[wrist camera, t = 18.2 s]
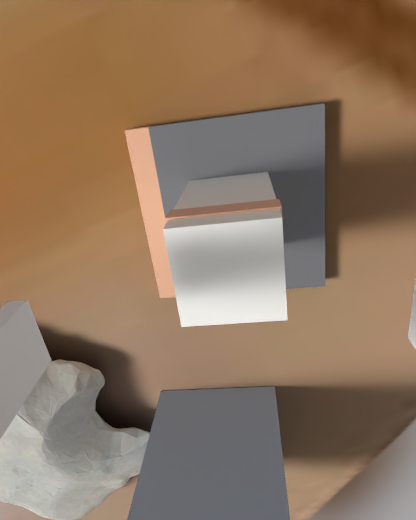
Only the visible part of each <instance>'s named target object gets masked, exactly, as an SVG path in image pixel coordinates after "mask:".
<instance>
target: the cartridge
mask: <svg viewBox="0 0 416 520" xmlns="http://www.w3.org/2000/svg"><path fill="white" fill-rule="evenodd" d="M165 219H166V224H165V226H164V228H163V232H164V238H165V243H166V248H167V253H168V259H169V264H170V269H171V274H172V279H173V285H174V290H175V295H176V300H177V306H178V311H179V316H180V321H181V327H187V326H203V325H219V324H235V323H251V322H266V321H282V320H287V301H286V282H285V262H284V242H283V223H282V206H281V203H280V200H279V199H276V196H275V193H274V190H273V187H272V183H271V180H270V177H269V174H268V172H261V173H253V174H244V175H235V176H226V177H217V178H208V179H200V180H191V181H189V182H188V184H187V186H186V188H185V190H184V191H183V193H182V195H181V197H180V199H179V201H178V202H177V204H176V206H175V208H174V210H170V211H169V213H168V214H167V216H166V218H165Z"/></svg>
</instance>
